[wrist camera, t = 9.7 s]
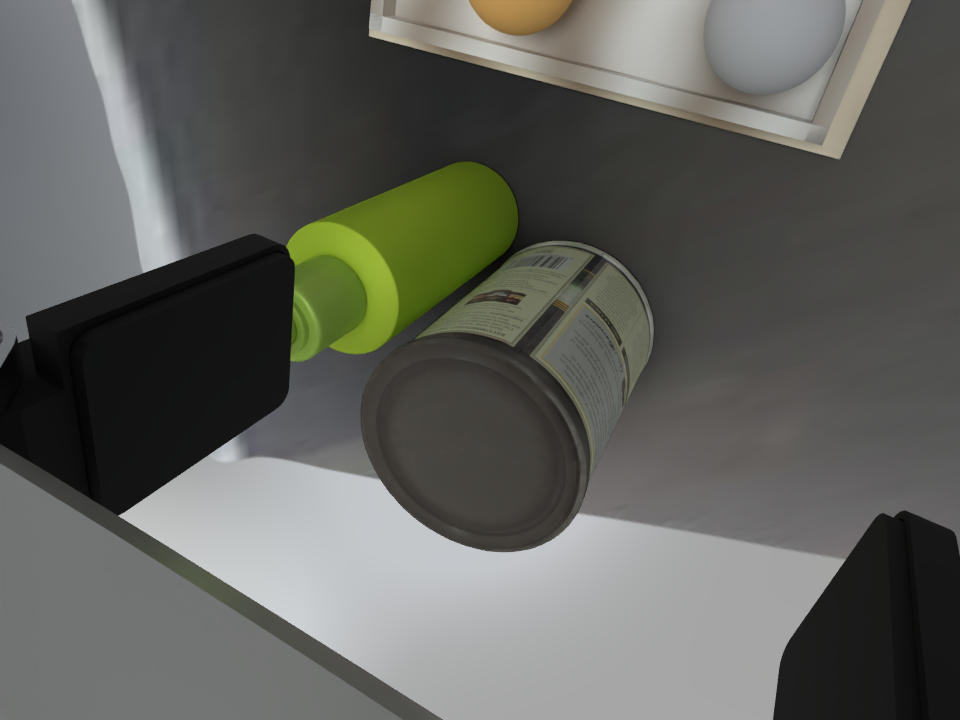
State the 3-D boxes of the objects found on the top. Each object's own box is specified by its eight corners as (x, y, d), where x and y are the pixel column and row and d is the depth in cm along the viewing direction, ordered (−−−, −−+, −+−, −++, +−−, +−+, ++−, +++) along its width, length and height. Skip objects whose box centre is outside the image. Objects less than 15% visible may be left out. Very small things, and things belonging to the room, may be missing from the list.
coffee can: (543, 425, 43) (443, 574, 32) (455, 288, 42) (317, 393, 30) (691, 366, 38) (634, 522, 26) (596, 204, 36) (491, 296, 25)
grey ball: (867, -33, 26) (875, -41, 22) (811, 101, 29) (810, 116, 25) (737, -57, 28) (723, -69, 24) (695, 73, 30) (676, 83, 26)
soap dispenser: (396, 191, 41) (110, 315, 25) (491, 144, 37) (225, 252, 21) (440, 281, 42) (195, 453, 26) (535, 243, 38) (318, 417, 22)
